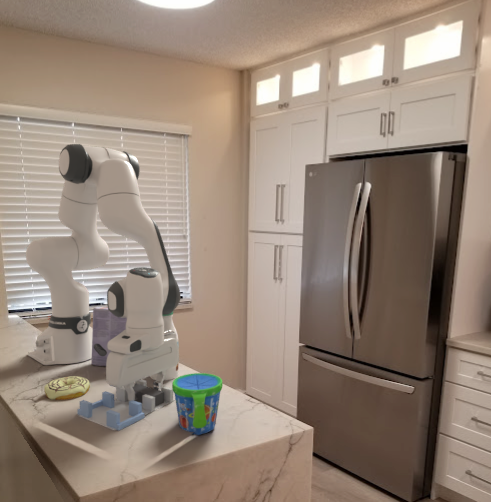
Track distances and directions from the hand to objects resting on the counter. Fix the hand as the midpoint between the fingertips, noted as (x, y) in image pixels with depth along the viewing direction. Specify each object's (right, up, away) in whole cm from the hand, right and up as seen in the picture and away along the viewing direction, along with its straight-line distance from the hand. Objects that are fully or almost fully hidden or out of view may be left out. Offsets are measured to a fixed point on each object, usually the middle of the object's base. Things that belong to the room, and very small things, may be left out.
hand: (145, 394), depth 101 cm
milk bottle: (+1, -2, +17) cm, 18 cm away
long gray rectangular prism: (0, -2, 0) cm, 2 cm away
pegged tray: (-3, -3, -4) cm, 6 cm away
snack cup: (+13, -4, -11) cm, 18 cm away
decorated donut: (-21, -3, +6) cm, 22 cm away
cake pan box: (-14, -1, +28) cm, 31 cm away
